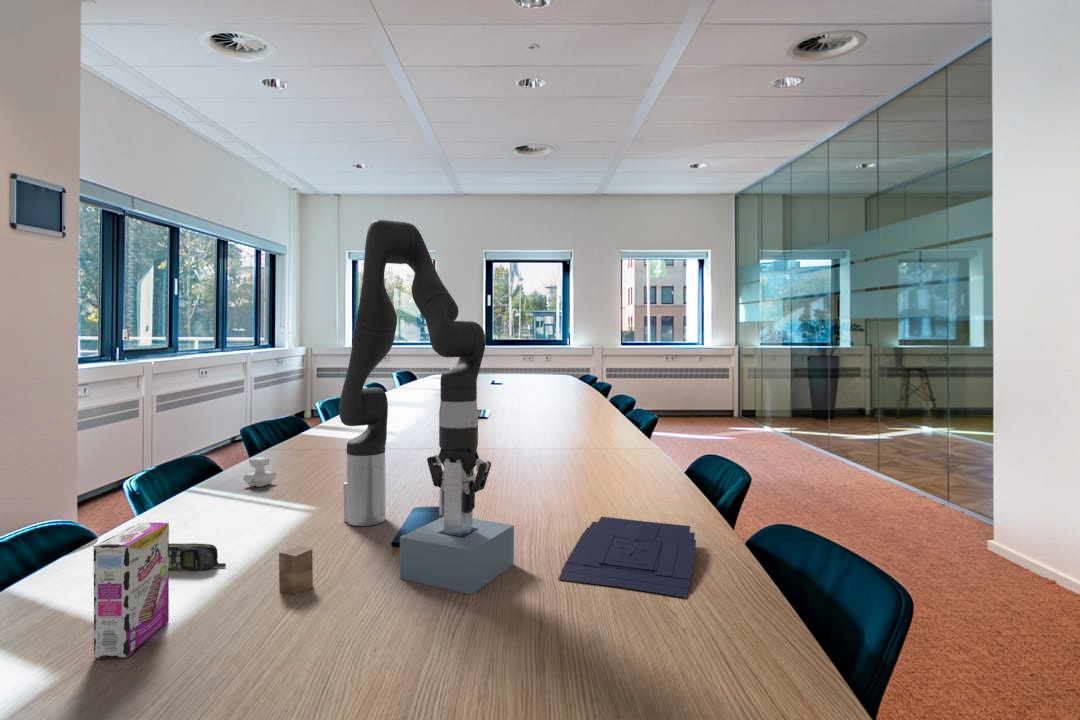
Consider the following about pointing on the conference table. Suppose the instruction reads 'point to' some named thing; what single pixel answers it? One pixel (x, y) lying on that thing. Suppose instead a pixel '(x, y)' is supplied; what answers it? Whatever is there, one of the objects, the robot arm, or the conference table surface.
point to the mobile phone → (193, 557)
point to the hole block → (457, 555)
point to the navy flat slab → (634, 556)
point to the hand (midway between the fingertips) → (458, 510)
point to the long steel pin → (455, 501)
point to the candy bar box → (130, 589)
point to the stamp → (259, 473)
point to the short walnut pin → (295, 569)
